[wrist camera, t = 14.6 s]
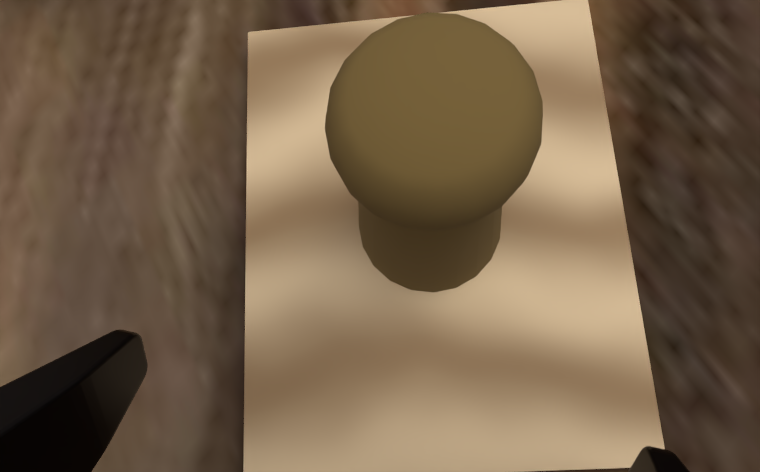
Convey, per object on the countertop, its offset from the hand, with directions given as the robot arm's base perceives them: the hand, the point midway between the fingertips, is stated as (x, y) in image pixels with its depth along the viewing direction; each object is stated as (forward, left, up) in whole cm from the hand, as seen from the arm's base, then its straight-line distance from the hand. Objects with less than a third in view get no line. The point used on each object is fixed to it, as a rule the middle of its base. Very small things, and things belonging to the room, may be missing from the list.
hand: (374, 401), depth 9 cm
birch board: (+6, -2, -13) cm, 14 cm away
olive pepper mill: (+6, -2, -12) cm, 13 cm away
